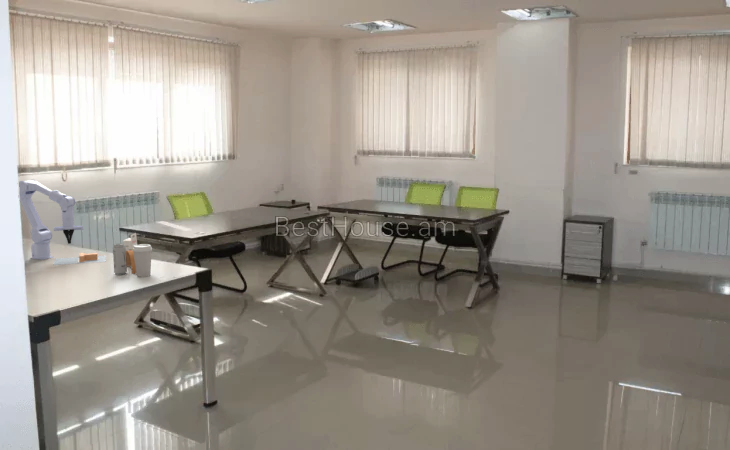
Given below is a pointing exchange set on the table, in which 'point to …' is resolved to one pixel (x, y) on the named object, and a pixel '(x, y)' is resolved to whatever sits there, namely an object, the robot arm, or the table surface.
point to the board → (77, 260)
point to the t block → (87, 257)
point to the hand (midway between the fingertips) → (69, 243)
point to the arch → (130, 260)
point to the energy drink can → (119, 259)
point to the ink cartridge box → (130, 242)
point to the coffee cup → (142, 259)
